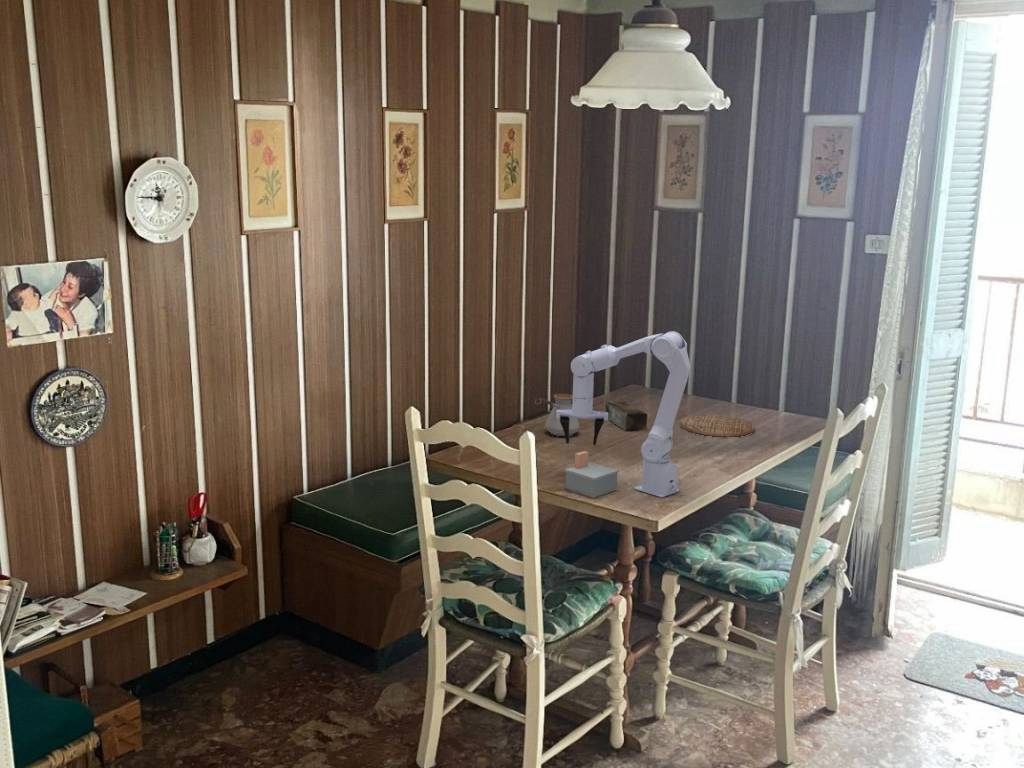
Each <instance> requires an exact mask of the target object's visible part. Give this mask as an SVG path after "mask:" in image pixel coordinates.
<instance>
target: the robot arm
mask: <svg viewBox="0 0 1024 768" xmlns="http://www.w3.org/2000/svg"><path fill="white" fill-rule="evenodd" d="M640 353H646V354H647V355H651V356H652V355H653V356H655V358H657V359H658V360H659V361H660V362H662V363H663V364H664V366H665V367H666V368H667V370H668V371H669V374H668V377H667V381H666V384H665V386H664V390H663V394H662V397H661V400H660V404H659V407H658V410H657V414H656V417H655V420H654V423H653V425H652V427H651V429H650V432H649V433H648V435H647V438H646V439H645V441H643V443H642V444H641V445H640V446H641V447H640V452H641V453H640V454H641V455H642V472H641V473H642V475H641V477H642V478H641V485H639V486H636V487H634V489H635V490H636V491H640V492H641V493H642V492H643V493H646V494H650V495H653V496H657V497H659V498H665V497H666V496H670V495H672V494H675V493H676V494H677V493H679V492H680V491H679V488H678V484H679V483H678V481H679V468H678V465H677V464H676V463H673V462H672V461H671V460H670V454H669V453H670V452H671V451H672V449H673V445H674V444H673V443H674V442H673V434H674V430H673V428H674V427H673V426H674V423H675V421H676V417H677V414H678V412H679V408H680V405H681V401H682V398H683V395H684V391H685V389H686V384H687V383H688V379H689V376H690V373H691V369H692V368H691V367H692V366H691V363H690V358H689V355H688V343H687V342H686V340H685V339H684V338H683V335H682V334H680V333H679V332H677V331H673V330H670V331H667V332H665V333H663V332H662V333H658V334H657V333H656V334H653V335H649V336H648V335H647V336H646V337H642V338H640V339H637V340H634V341H631V342H629V343H625V344H623V345H621V346H619V347H616V346H613V345H608V344H603V345H601V346H600V348H598V349H596V350H592V351H591V350H588V351H586V352H585V353H583V354H581V355H577V356H576V357H574V358H573V359H572V360H571V363H570V371H571V372H572V374H573V379H572V383H573V384H572V396H573V398H572V403H571V404H572V410H557V411H556V418H560V423H561V425H562V428H563V430H564V433H565V437H564V438H565V443H566V444H570V436H569V424H570V418H577V419H580V420H581V419H582V420H583V419H585V420H594V426H593V427H594V429H593V430H594V431H593V433H594V435H593V440H592V441H593V442H592V444H593V446H596V445H597V439H598V436H599V434H600V431H601V429H602V427H603V425H604V422H607V421H609V420H608V412H605V411H597V410H593V406H594V385H595V384H594V381H595V380H594V377H595V373H596V372H600V371H602V370H603V371H604V370H605V369H609V368H611V367H614V366H618V364H619V362H620V360H621V359H624V358H627V357H631V356H634V355H637V354H640ZM594 372H595V373H594Z"/></svg>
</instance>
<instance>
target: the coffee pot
mask: <svg viewBox="0 0 1024 768" xmlns="http://www.w3.org/2000/svg"><path fill="white" fill-rule="evenodd" d="M553 398H554V399H555V400H554V401H555V403H553V402H552V401H549V400H548V399H544V398H543V397H542V398H541V397H538V398H537V399H535V400H534V403H535V404H536V405H540V404H541V403H544V404H546V405H549V406H552V409H551V411H550V413H549V416H548V417H547V419H546V422H545V423H544V424H545V425H544V426H545V429H546V430H547V431H548V432H549V433H550V435H552V434H553V435H552V436H554V435H556V436H555V437H559V436H565V433H564V430H563V428H562V425H561V423H560V418H556V411H557V410H572V404H573V403H572V401H573V394H568V393H555V394H553ZM536 400H538V401H540V402H539V403H536ZM580 426H581V425H580V422H579V419H578V418H570V424H569V437H572V436H574V435H573V434H575V433H577V432H578V431H579V429H580Z"/></svg>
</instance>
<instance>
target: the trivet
mask: <svg viewBox="0 0 1024 768" xmlns="http://www.w3.org/2000/svg"><path fill="white" fill-rule="evenodd" d="M679 426H680V428H681V429H682V430H683V429H684V430H683V431H685V430H686V431H685V432H687V431H688V432H687V433H689V432H691V433H690V434H692V433H695V434H694V435H696V434H699V435H698V436H701V435H705V436H704V437H706V436H712V437H711V438H714V437H739V438H742V437H741V436H745V437H747V436H746V435H749V434H751V433H753V432H754V433H755V430H756V429H755V428H756V427H755V424H753V423H752V422H750V421H748V420H746V419H743V418H740V417H735V416H731V415H730V416H729V415H721V414H694V415H693V414H692V415H688V416H685V417H683V418H682V419H680V425H679ZM754 433H753V434H754ZM751 435H752V434H751ZM749 436H750V435H749Z"/></svg>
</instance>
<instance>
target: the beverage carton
mask: <svg viewBox="0 0 1024 768" xmlns="http://www.w3.org/2000/svg"><path fill="white" fill-rule="evenodd" d="M604 405H605V406H604V407H605V408H604V412H608V419H609V420H610V421H612V422H613V425H615V424H616V426H618V428H621V429H623V430H624V431H625V432H639V430H645V431H646V429H647V423H648V413H646V412H645V411H642V410H641V409H639V408H637V407H635V406H633V405H631V404H629V403H628V402H626V401H615V400H610V401H607V402H605V404H604ZM609 420H608V421H609ZM610 421H609V422H610ZM612 422H611V423H612ZM637 430H638V431H637Z"/></svg>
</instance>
